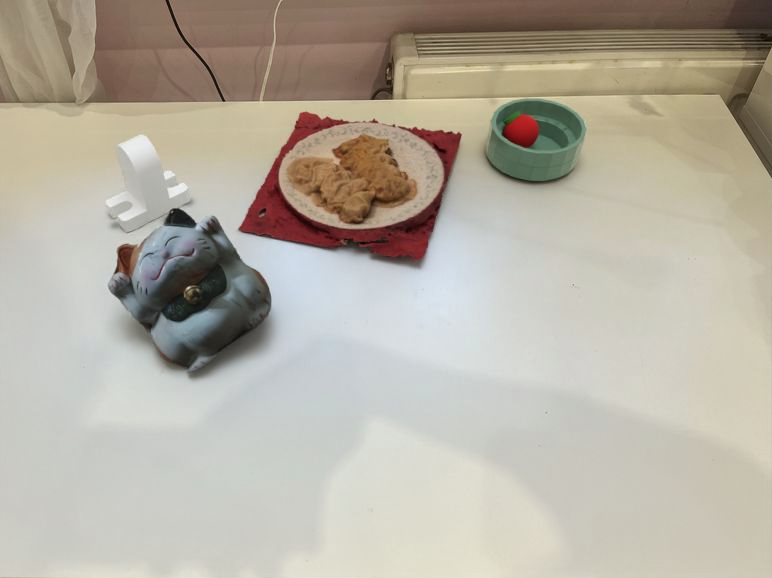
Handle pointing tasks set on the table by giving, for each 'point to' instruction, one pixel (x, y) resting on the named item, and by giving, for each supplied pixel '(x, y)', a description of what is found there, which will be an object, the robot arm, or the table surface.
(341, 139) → the plate with food
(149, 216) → the cable organizer
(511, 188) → the table surface
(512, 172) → the bowl
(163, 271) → the lucky cat figurine
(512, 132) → the tomato
